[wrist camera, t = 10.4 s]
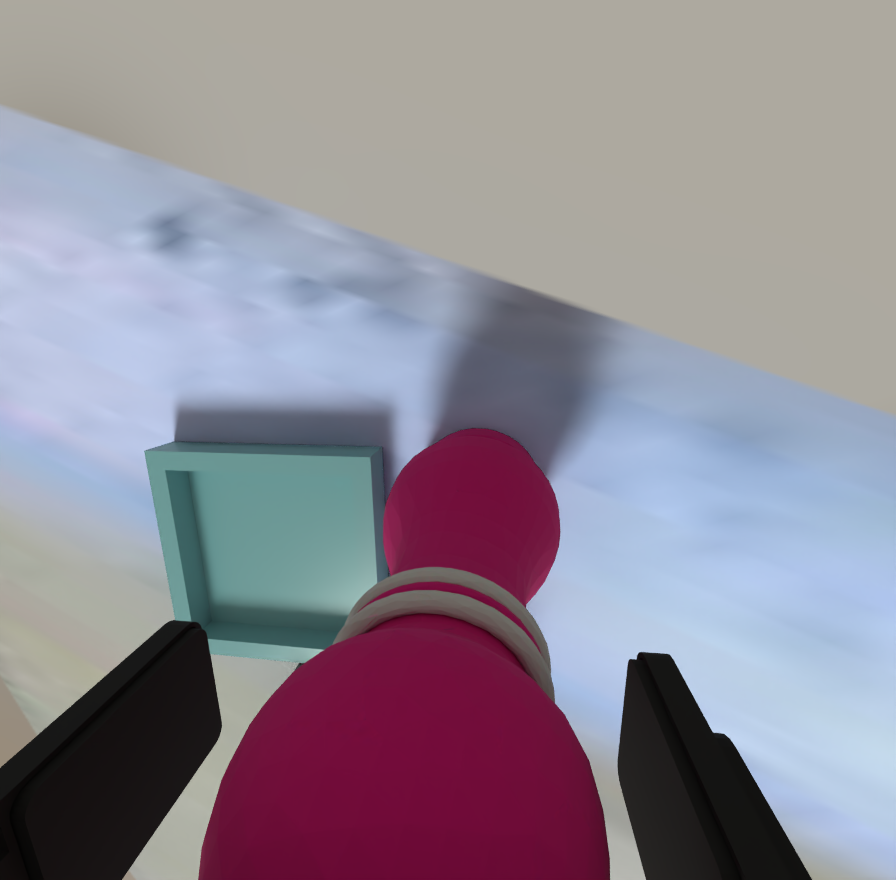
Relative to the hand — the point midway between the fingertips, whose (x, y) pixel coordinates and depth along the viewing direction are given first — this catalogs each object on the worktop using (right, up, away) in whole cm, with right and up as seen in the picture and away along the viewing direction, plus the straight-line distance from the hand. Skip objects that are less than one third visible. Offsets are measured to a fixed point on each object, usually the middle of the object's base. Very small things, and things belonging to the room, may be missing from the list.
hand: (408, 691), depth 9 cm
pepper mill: (+2, +3, +13) cm, 14 cm away
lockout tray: (-8, -1, +15) cm, 17 cm away
